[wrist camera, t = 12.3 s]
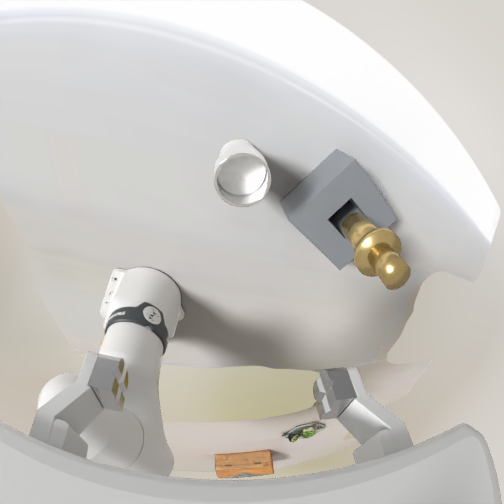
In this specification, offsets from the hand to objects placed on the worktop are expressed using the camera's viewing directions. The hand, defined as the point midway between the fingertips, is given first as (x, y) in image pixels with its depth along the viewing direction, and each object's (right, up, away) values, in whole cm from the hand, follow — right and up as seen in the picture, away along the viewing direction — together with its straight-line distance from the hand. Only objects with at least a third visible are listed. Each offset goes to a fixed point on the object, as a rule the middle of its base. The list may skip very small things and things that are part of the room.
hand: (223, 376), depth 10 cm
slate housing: (+16, +14, +39) cm, 44 cm away
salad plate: (+24, -76, +94) cm, 123 cm away
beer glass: (-1, +21, +33) cm, 39 cm away
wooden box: (-3, -108, +110) cm, 154 cm away
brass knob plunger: (+17, +9, +30) cm, 36 cm away
